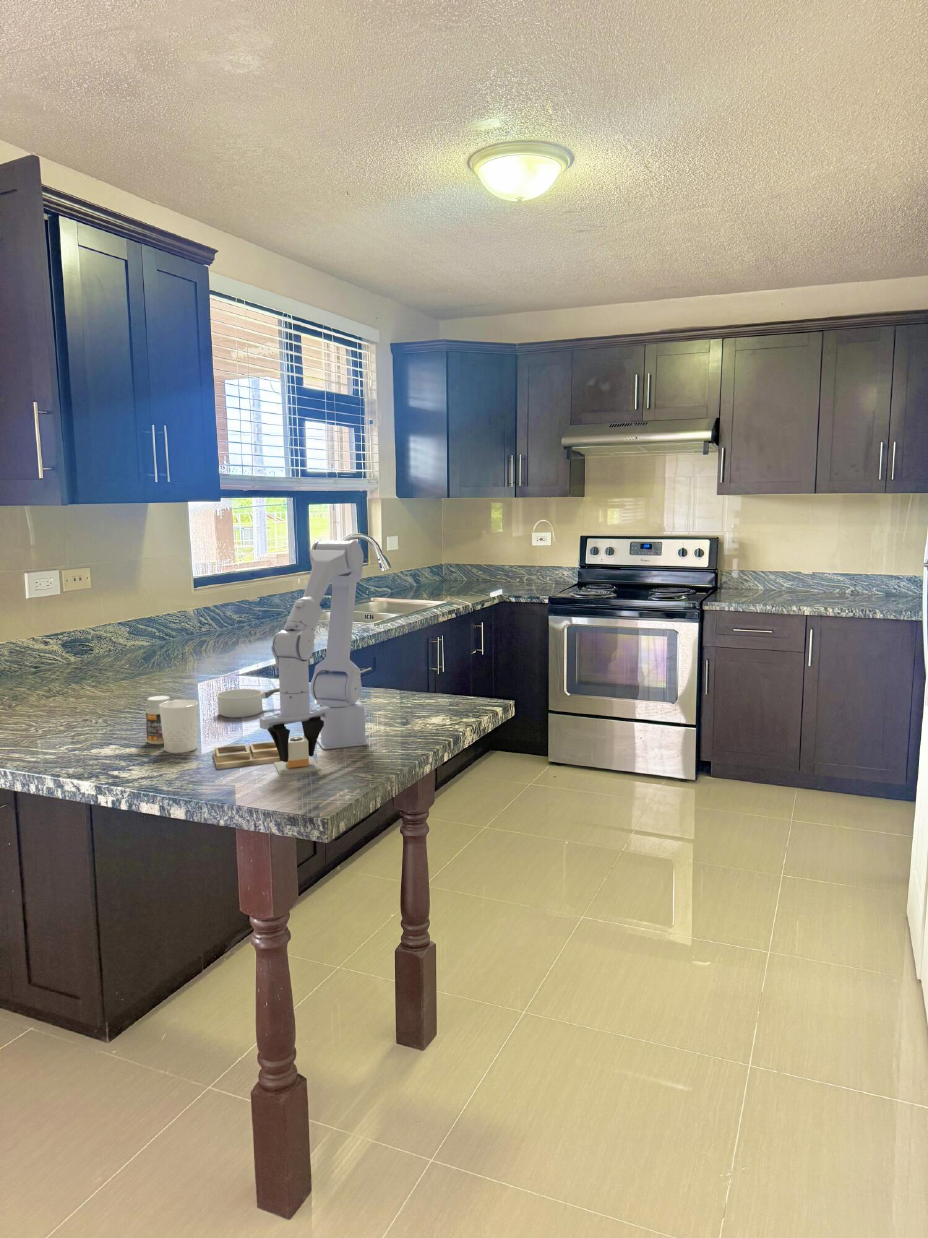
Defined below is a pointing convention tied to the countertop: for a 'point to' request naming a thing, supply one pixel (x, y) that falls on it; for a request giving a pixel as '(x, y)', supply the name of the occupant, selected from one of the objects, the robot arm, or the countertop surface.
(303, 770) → the mat
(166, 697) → the pill bottle
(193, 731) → the white cup
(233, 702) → the saucepan
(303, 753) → the cube with grey knob
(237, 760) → the socket block
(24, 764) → the countertop surface
